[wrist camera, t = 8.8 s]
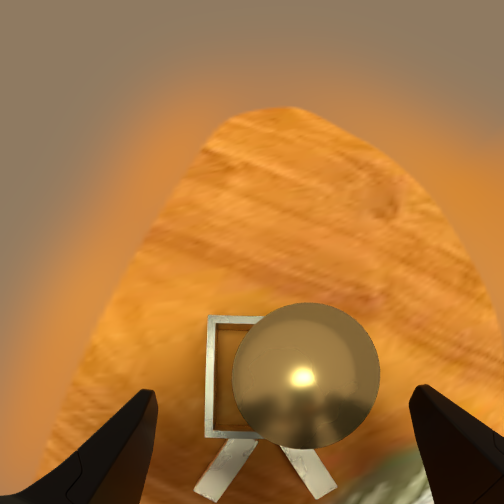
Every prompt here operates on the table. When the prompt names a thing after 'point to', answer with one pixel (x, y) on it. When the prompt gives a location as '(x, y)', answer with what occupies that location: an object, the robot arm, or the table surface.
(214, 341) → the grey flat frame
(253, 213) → the table surface
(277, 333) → the gold metal cylinder
